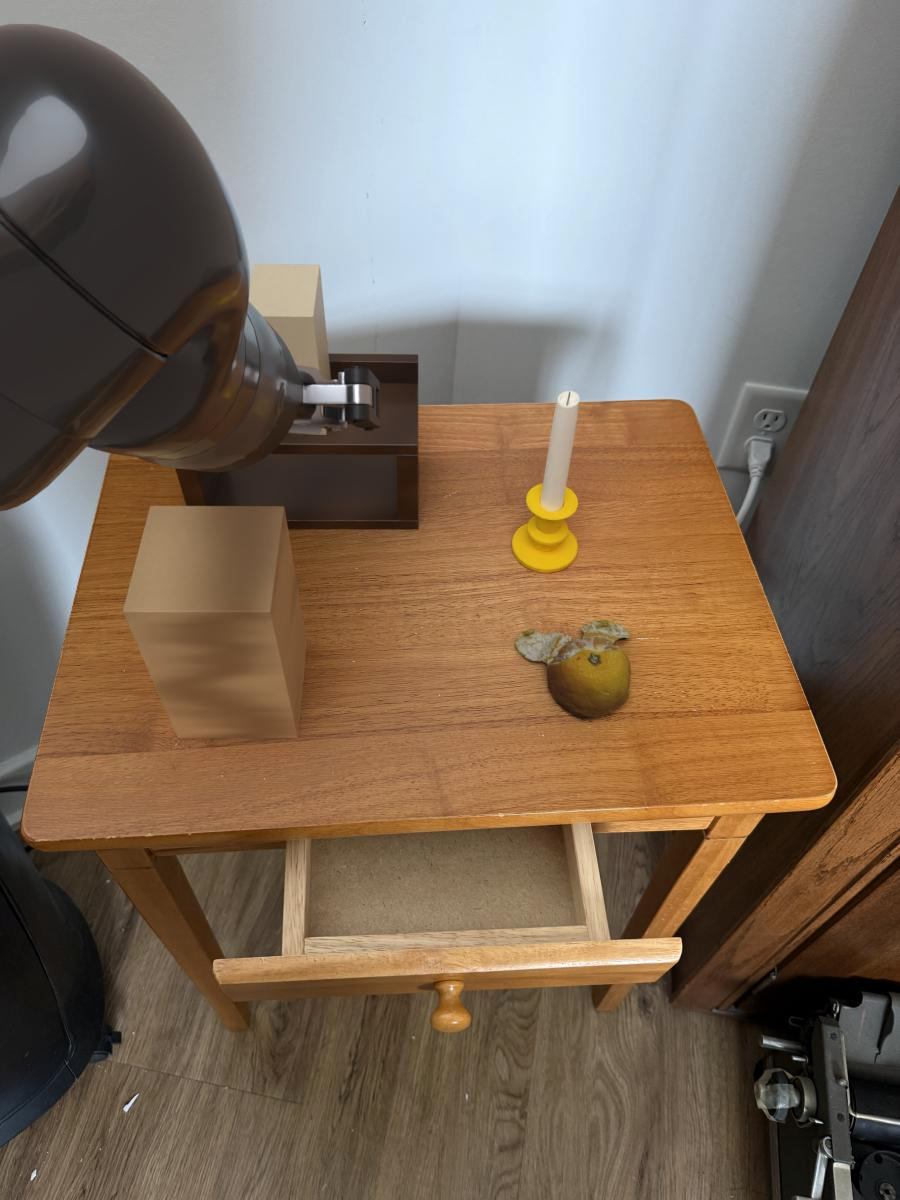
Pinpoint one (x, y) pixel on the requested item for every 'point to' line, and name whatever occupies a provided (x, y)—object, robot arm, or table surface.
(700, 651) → the table surface
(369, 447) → the shelf
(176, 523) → the block
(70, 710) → the table surface
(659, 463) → the table surface
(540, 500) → the candle
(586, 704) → the fruit
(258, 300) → the snack box
